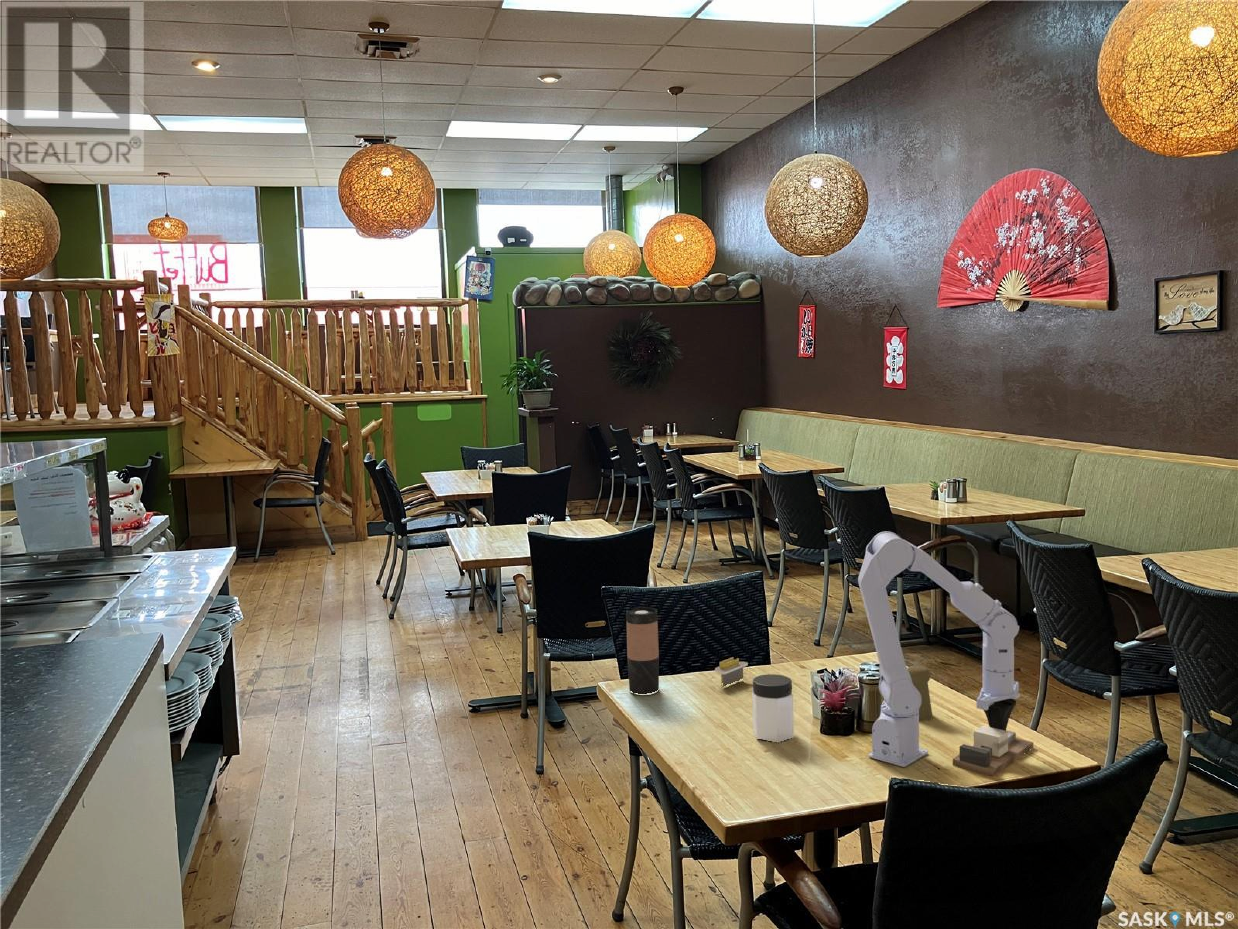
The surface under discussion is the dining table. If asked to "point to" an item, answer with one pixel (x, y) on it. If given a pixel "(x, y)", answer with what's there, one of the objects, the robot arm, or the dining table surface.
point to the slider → (991, 739)
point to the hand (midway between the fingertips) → (997, 735)
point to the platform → (730, 670)
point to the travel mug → (642, 650)
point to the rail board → (991, 756)
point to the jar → (773, 708)
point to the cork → (922, 689)
